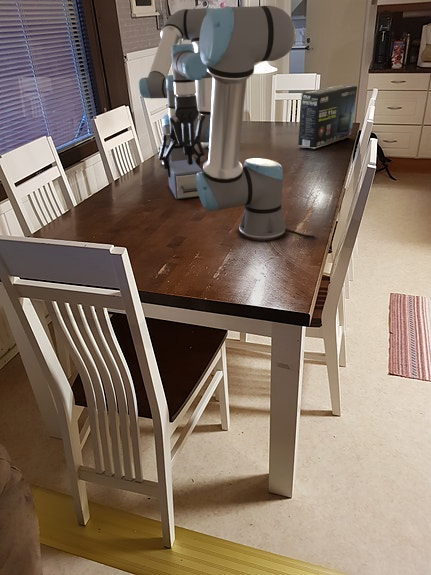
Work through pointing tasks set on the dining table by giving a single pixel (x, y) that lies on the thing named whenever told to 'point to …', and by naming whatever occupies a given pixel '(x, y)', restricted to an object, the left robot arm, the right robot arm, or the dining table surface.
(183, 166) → the cabinet
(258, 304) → the dining table surface
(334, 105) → the router box
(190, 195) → the drawer
